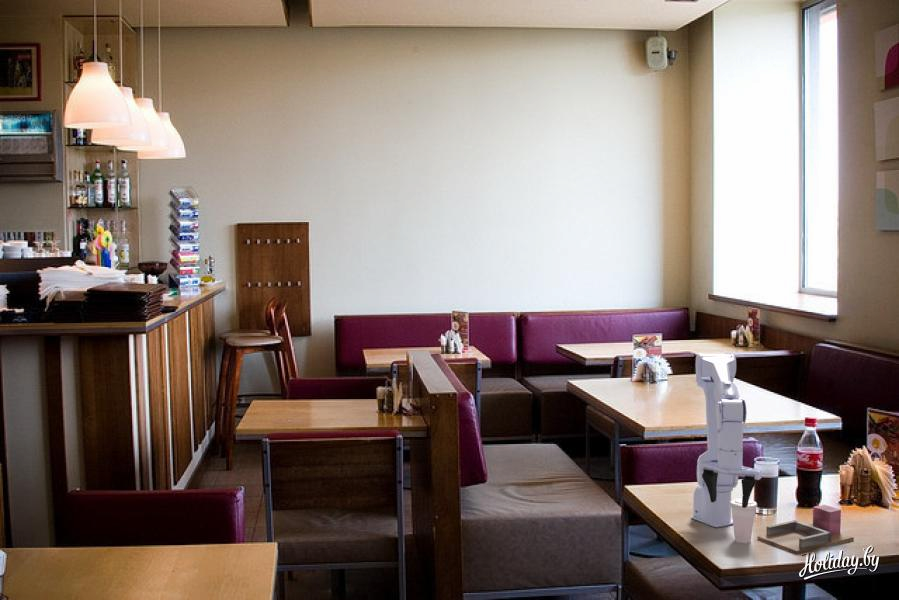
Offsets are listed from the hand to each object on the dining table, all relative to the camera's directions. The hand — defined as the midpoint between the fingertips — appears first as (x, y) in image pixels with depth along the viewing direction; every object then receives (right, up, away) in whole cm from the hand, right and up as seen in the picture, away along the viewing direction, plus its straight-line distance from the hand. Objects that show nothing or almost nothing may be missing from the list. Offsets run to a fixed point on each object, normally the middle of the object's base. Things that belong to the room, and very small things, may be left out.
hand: (729, 504), depth 223 cm
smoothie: (+5, -10, +4) cm, 12 cm away
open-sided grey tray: (+20, -10, +5) cm, 23 cm away
